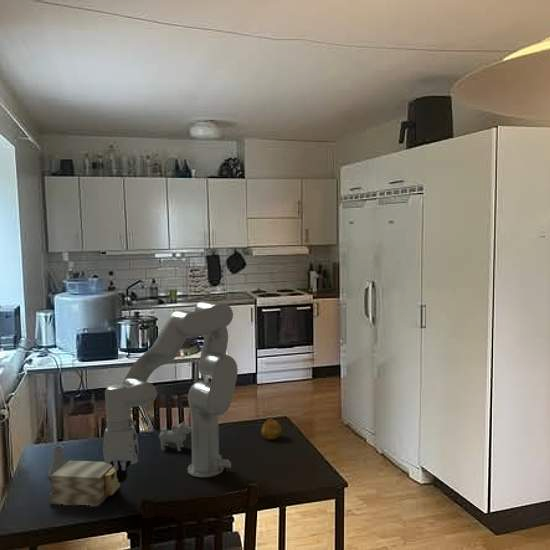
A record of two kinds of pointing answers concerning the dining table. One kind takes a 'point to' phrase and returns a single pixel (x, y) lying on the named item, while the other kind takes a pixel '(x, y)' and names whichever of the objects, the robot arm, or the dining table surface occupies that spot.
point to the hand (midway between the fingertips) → (122, 480)
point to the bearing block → (79, 483)
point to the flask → (57, 460)
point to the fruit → (271, 429)
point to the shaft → (111, 482)
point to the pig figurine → (174, 435)
